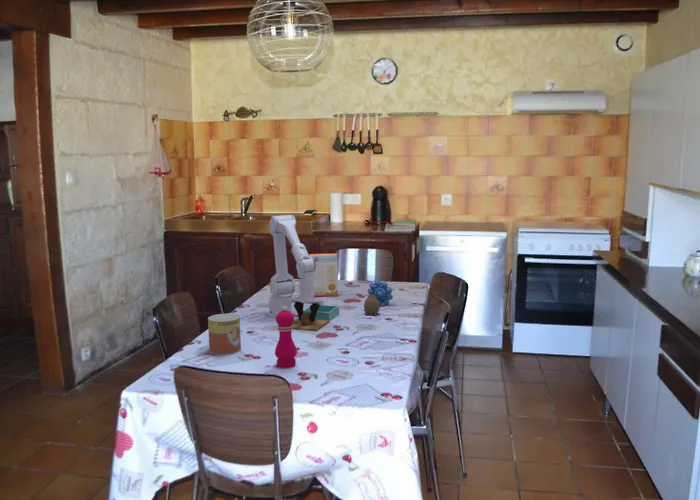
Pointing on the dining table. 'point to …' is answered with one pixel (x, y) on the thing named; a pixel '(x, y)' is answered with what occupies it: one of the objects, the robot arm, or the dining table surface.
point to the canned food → (224, 333)
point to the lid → (308, 323)
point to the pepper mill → (285, 340)
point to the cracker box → (325, 275)
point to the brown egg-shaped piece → (371, 305)
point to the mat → (315, 331)
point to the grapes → (381, 292)
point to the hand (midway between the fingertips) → (307, 320)
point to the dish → (325, 312)
